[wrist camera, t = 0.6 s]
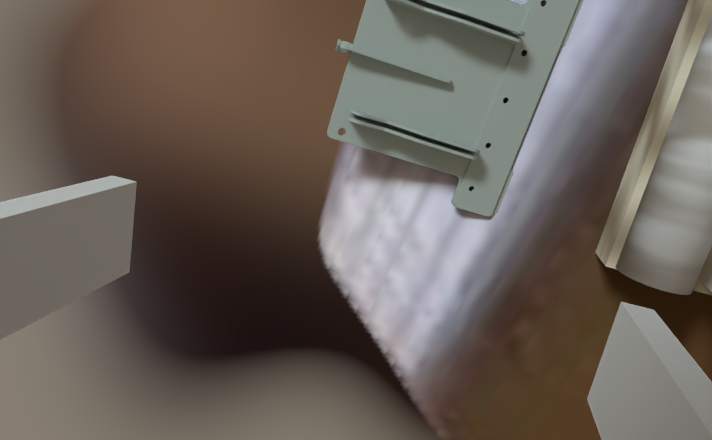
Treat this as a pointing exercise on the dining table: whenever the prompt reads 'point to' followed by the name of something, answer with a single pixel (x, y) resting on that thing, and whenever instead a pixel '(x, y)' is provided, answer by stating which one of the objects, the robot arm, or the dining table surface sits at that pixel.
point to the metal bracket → (450, 85)
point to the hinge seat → (670, 173)
